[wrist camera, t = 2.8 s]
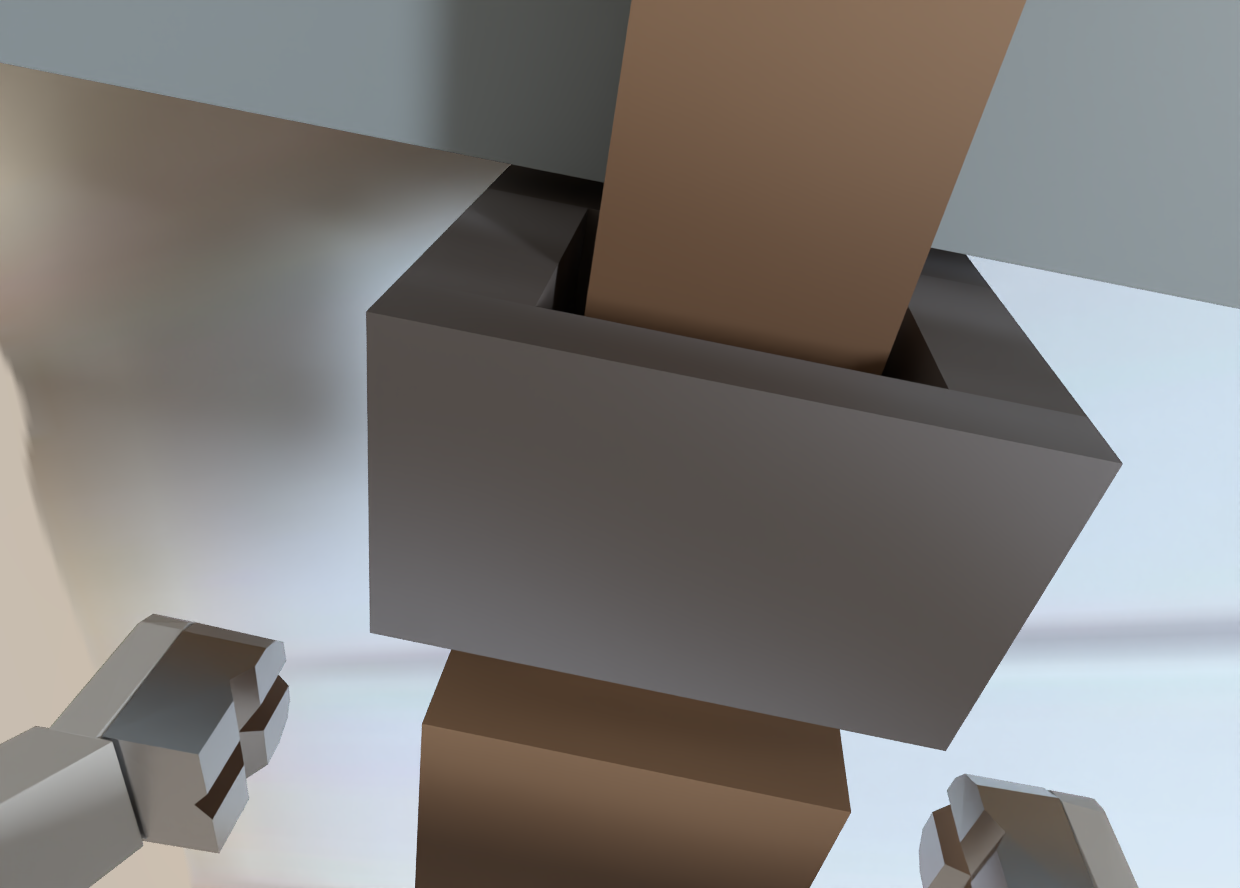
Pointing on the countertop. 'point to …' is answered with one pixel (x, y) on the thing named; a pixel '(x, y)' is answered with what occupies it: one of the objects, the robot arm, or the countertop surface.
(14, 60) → the lid
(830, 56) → the wooden mallet
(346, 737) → the countertop surface
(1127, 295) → the countertop surface
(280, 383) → the countertop surface
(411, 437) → the box
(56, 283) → the countertop surface
